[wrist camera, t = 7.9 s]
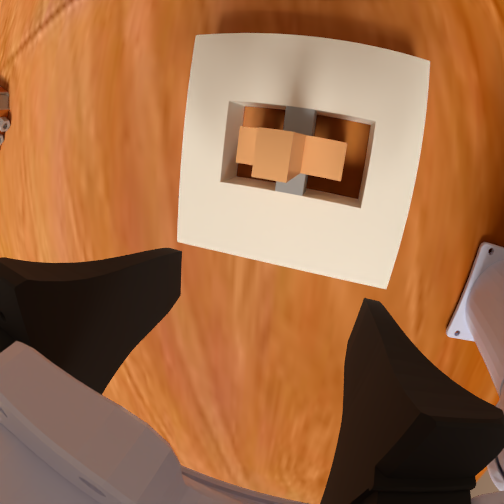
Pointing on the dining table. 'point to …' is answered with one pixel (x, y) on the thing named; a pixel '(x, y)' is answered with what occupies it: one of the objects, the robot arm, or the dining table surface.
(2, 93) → the toy gun
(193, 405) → the dining table surface
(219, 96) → the square window frame
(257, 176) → the notched wooden block
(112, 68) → the dining table surface
